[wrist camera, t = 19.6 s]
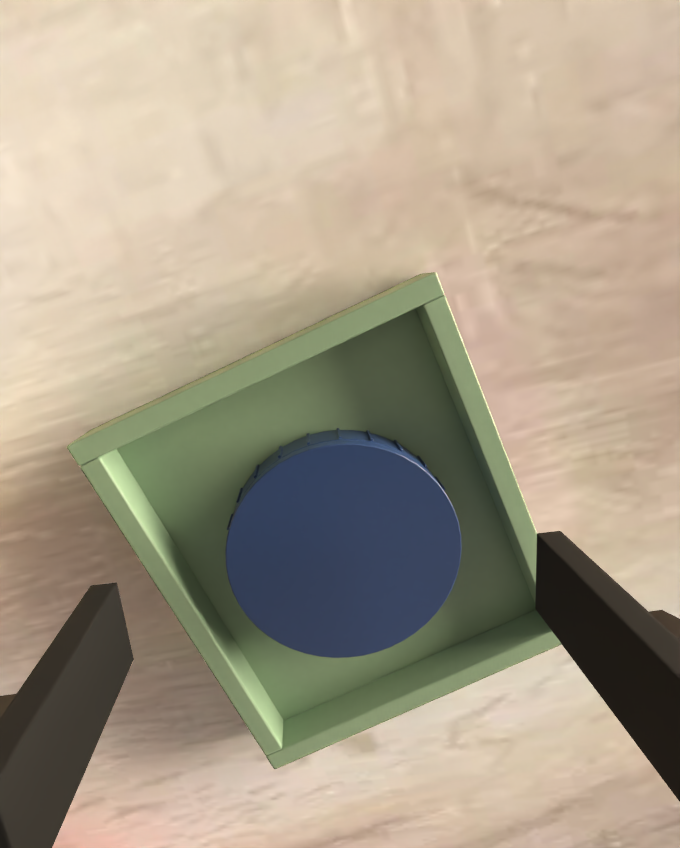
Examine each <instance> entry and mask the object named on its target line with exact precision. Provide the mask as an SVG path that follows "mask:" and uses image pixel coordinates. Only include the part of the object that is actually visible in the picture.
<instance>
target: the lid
mask: <svg viewBox="0 0 680 848" xmlns="http://www.w3.org/2000/svg"><path fill="white" fill-rule="evenodd" d="M306 435H307V436H305V437H302V438H300V439H297V440H294V441H293V442H291V443H289V444H287V445H285V446H283V447H282V446H279V450H277V451H276V452H274V453H273V454H272V455H270V456H269V457H268V458H267V459H266V460H265V461H264V462H263V463H262V464H260V465H259V464H258V465H257V466H256V469H255V471H254V473H253V474H252V475H251V476H250V478H249V479H248V481H247V482H246V484H245V486H244V487H243V488H240V491H239V494H238V497H237V501H236V502H237V503H236V507H235V510H234V513H233V514H231V517H230V520H229V523H228V527H227V530H229V531H228V534H227V541H226V549H225V558H226V569H227V575H228V580H229V583H230V586H231V589H232V592H233V594H234V596H235V598H236V600H237V602H238V604H239V605H240V607H241V608H242V610H243V611H244V613H245V614H246V616H247V617H248V618H249V619H250V620H251V621H252V622H253V623H254V624H255V626H256V627H258V628H259V629H260V630H261V631H262V632H264V633H265V634H266V635H267V636H269V637H270V638H272V639H273V640H275V641H277V642H278V643H280V644H282V645H284V646H286V647H288V648H291V649H293V650H296V651H299V652H302V653H305V654H309V655H314V656H319V657H330V658H349V657H357V656H364V655H368V654H372V653H376V652H379V651H382V650H384V649H387V648H390V647H392V646H394V645H396V644H398V643H400V642H402V641H404V640H405V639H407V638H408V637H410V636H411V635H413V634H414V633H416V632H417V631H418V630H420V629H421V628H422V627H423V626H424V625H425V624H427V623H428V622H429V621H430V619H431V618H432V617H433V616H434V615H435V614H436V613H437V612H438V610H439V609H440V608H441V606H442V605H443V604H444V602H445V601H446V599H447V597H448V595H449V593H450V592H451V590H452V587H453V585H454V582H455V580H456V577H457V573H458V569H459V565H460V559H461V549H462V547H461V532H460V527H459V522H458V519H457V516H456V513H455V510H454V507H453V505H452V503H451V501H450V500H449V498H448V496H447V494H446V493H445V491H444V490H446V489H445V487H444V486H443V485H442V483H441V482H440V481H439V479H438V478H437V477H436V476H435V477H434V476H433V475H432V473H431V472H430V470H429V469H428V468H427V466H426V464H425V463H424V461H423V460H422V459H421V457H420V456H419V455H418V456H416V455H414V454H413V453H412V452H410V451H409V450H408V449H407V448H405V447H403V446H402V445H400V444H399V443H398V441H397V440H394V441H392V440H390V439H388V438H385V437H383V436H380V435H376V434H373V433H370V431H369V430H367V431H366V432H364V431H356V430H340V429H339V428H336V430H332V431H323V432H319V433H315V434H311V435H310V434H309V433H307V434H306Z"/></svg>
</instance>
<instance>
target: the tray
mask: <svg viewBox="0 0 680 848" xmlns="http://www.w3.org/2000/svg"><path fill="white" fill-rule="evenodd" d="M336 428H339V429H340V430H356V431H364V432H366V431H367V430H369V431H370V433H373V434H376V435H380V436H383V437H385V438H388V439H390V440H392V441H394V440H397V441H398V443H399V444H400V445H402V446H403V447H405V448H407V449H408V450H409V451H410V452H412V453H413V454H414V455H416V456H418V455H419V456H420V457H421V459H422V460H423V461H424V463H425V464H426V466H427V468H428V469H429V470H430V472H431V473H432V475H433V476H434V477H435V476H436V477H437V478H438V479H439V481H440V482H441V483H442V485H443V486H444V487H445V489H446V490H444V491H445V493H446V494H447V496H448V498H449V500H450V501H451V503H452V505H453V507H454V510H455V513H456V516H457V519H458V522H459V527H460V532H461V547H462V549H461V559H460V565H459V569H458V573H457V577H456V580H455V582H454V585H453V587H452V590H451V592H450V593H449V595H448V597H447V599H446V601H445V602H444V604H443V605H442V606H441V608H440V609H439V610H438V612H437V613H436V614H435V615H434V616H433V617H432V618H431V619H430V621H429V622H428V623H427V624H425V625H424V626H423V627H422V628H421V629H420V630H418V631H417V632H416V633H414V634H413V635H411V636H410V637H408V638H407V639H405V640H404V641H402V642H400V643H398V644H396V645H394V646H392V647H390V648H387V649H384V650H382V651H379V652H376V653H372V654H368V655H364V656H357V657H349V658H330V657H319V656H314V655H309V654H305V653H302V652H299V651H296V650H293V649H291V648H288V647H286V646H284V645H282V644H280V643H278V642H277V641H275V640H273V639H272V638H270V637H269V636H267V635H266V634H265V633H264V632H262V631H261V630H260V629H259V628H258V627H256V626H255V624H254V623H253V622H252V621H251V620H250V619H249V618H248V617H247V616H246V614H245V613H244V611H243V610H242V608H241V607H240V605H239V604H238V602H237V600H236V598H235V596H234V594H233V592H232V589H231V586H230V583H229V580H228V575H227V569H226V558H225V549H226V541H227V534H228V531H229V530H227V527H228V523H229V520H230V517H231V514H233V513H234V510H235V507H236V503H237V502H236V501H237V497H238V494H239V491H240V488H243V487H244V486H245V484H246V482H247V481H248V479H249V478H250V476H251V475H252V474H253V473H254V471H255V469H256V466H257V465H258V464H259V465H260V464H262V463H263V462H264V461H265V460H266V459H267V458H268V457H269V456H270V455H272V454H273V453H274V452H276V451H277V450H279V446H282V447H283V446H285V445H287V444H289V443H291V442H293V441H294V440H297V439H300V438H302V437H305V436H307V435H306V434H307V433H309V434H310V435H311V434H315V433H319V432H323V431H332V430H336ZM67 448H68V450H69V451H70V453H71V455H72V456H73V458H74V459H75V461H76V462H77V464H78V465H79V466H81V470H82V471H83V473H84V474H85V476H86V477H87V479H88V480H89V482H90V484H91V485H92V487H93V488H94V490H95V491H96V493H97V494H98V496H99V498H100V499H101V501H102V502H103V504H104V505H105V507H106V508H107V510H108V512H109V513H110V515H111V516H112V518H113V519H114V521H115V522H116V524H117V526H118V527H119V529H120V530H121V532H122V533H123V535H124V536H125V538H126V539H127V541H128V543H129V544H130V546H131V547H132V549H133V550H134V552H135V553H136V555H137V557H138V558H139V560H140V561H141V563H142V564H143V566H144V567H145V569H146V571H147V572H148V574H149V575H150V577H151V578H152V580H153V581H154V583H155V585H156V586H157V588H158V589H159V591H160V592H161V594H162V595H163V597H164V598H165V600H166V602H167V603H168V605H169V606H170V608H171V609H172V611H173V612H174V614H175V616H176V617H177V619H178V620H179V622H180V623H181V625H182V626H183V628H184V630H185V631H186V633H187V634H188V636H189V637H190V639H191V640H192V642H193V643H194V645H195V647H196V648H197V650H198V651H199V653H200V654H201V656H202V657H203V659H204V661H205V662H206V664H207V665H208V667H209V668H210V670H211V671H212V673H213V675H214V676H215V678H216V679H217V681H218V682H219V684H220V685H221V687H222V689H223V690H224V692H225V693H226V695H227V696H228V698H229V699H230V701H231V702H232V704H233V706H234V707H235V709H236V710H237V712H238V713H239V715H240V716H241V718H242V720H243V721H244V723H245V724H246V726H247V727H248V729H249V730H250V732H251V734H252V735H253V737H254V738H255V740H256V741H257V743H258V744H259V746H260V747H261V749H262V751H263V752H264V754H265V755H266V757H267V759H268V760H269V762H270V763H271V765H272V766H273V768H274V769H277V768H279V767H281V766H284V765H286V764H288V763H291V762H293V761H295V760H297V759H300V758H302V757H304V756H307V755H309V754H311V753H313V752H316V751H318V750H320V749H323V748H325V747H327V746H330V745H332V744H334V743H336V742H339V741H341V740H343V739H346V738H348V737H350V736H352V735H355V734H357V733H359V732H362V731H364V730H366V729H368V728H371V727H373V726H375V725H378V724H380V723H382V722H385V721H387V720H389V719H391V718H394V717H396V716H398V715H401V714H403V713H405V712H407V711H410V710H412V709H414V708H417V707H419V706H421V705H424V704H426V703H428V702H430V701H433V700H435V699H437V698H440V697H442V696H444V695H446V694H449V693H451V692H453V691H456V690H458V689H460V688H463V687H465V686H467V685H469V684H472V683H474V682H476V681H479V680H481V679H483V678H485V677H488V676H490V675H492V674H495V673H497V672H499V671H502V670H504V669H506V668H508V667H511V666H513V665H515V664H518V663H520V662H522V661H524V660H527V659H529V658H531V657H534V656H536V655H538V654H541V653H543V652H545V651H547V650H550V649H552V648H554V647H557V646H559V645H561V642H560V641H559V640H558V638H557V637H556V636H555V634H554V633H553V632H552V630H551V629H550V628H549V626H548V625H547V624H546V622H545V621H544V620H543V618H542V617H541V616H540V614H539V613H538V612H537V610H536V609H535V597H536V554H537V532H536V529H535V527H534V524H533V522H532V519H531V516H530V514H529V511H528V509H527V506H526V504H525V501H524V498H523V496H522V493H521V491H520V488H519V485H518V483H517V480H516V478H515V475H514V472H513V470H512V467H511V465H510V462H509V460H508V457H507V454H506V452H505V449H504V447H503V444H502V441H501V439H500V436H499V434H498V431H497V428H496V426H495V423H494V421H493V418H492V415H491V413H490V410H489V408H488V405H487V403H486V400H485V397H484V395H483V392H482V390H481V387H480V384H479V382H478V379H477V377H476V374H475V371H474V369H473V366H472V364H471V361H470V358H469V356H468V353H467V351H466V348H465V346H464V343H463V340H462V338H461V335H460V333H459V330H458V327H457V325H456V322H455V320H454V317H453V314H452V312H451V309H450V307H449V304H448V302H447V299H446V296H445V295H444V291H443V289H442V286H441V283H440V281H439V278H438V276H437V273H436V272H433V273H425V274H420V275H417V276H415V277H413V278H411V279H409V280H407V281H405V282H403V283H401V284H398V285H396V286H394V287H392V288H390V289H388V290H386V291H384V292H382V293H379V294H377V295H375V296H373V297H371V298H369V299H367V300H365V301H362V302H360V303H358V304H356V305H354V306H352V307H350V308H348V309H346V310H343V311H341V312H339V313H337V314H335V315H333V316H331V317H329V318H327V319H324V320H322V321H320V322H318V323H316V324H314V325H312V326H310V327H307V328H305V329H303V330H301V331H299V332H297V333H295V334H293V335H291V336H288V337H286V338H284V339H282V340H280V341H278V342H276V343H274V344H272V345H269V346H267V347H265V348H263V349H261V350H259V351H257V352H255V353H253V354H250V355H248V356H246V357H244V358H242V359H240V360H238V361H236V362H233V363H231V364H229V365H227V366H225V367H223V368H221V369H219V370H217V371H214V372H212V373H210V374H208V375H206V376H204V377H202V378H200V379H198V380H195V381H193V382H191V383H189V384H187V385H185V386H183V387H181V388H178V389H176V390H174V391H172V392H170V393H168V394H166V395H164V396H162V397H159V398H157V399H155V400H153V401H151V402H149V403H147V404H145V405H143V406H140V407H138V408H136V409H134V410H132V411H130V412H128V413H126V414H124V415H121V416H119V417H117V418H115V419H113V420H111V421H109V422H107V423H104V424H102V425H100V426H98V427H96V428H94V429H92V430H90V431H89V432H87V433H86V434H84V435H83V436H81V437H80V438H78V439H77V440H75V441H74V442H72V443H71V444H69V445H68V446H67Z"/></svg>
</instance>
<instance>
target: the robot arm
mask: <svg viewBox="0 0 680 848" xmlns="http://www.w3.org/2000/svg"><path fill="white" fill-rule="evenodd" d="M535 609H536V610H537V612H538V613H539V614H540V616H541V617H542V618H543V620H544V621H545V622H546V624H547V625H548V626H549V628H550V629H551V630H552V632H553V633H554V634H555V636H556V637H557V638H558V640H559V641H560V642H561V644H562V645H563V646H564V648H565V649H566V650H567V652H568V653H569V654H570V656H571V657H572V658H573V660H574V661H575V662H576V664H577V665H578V666H579V668H580V669H581V670H582V672H583V673H584V674H585V676H586V677H587V678H588V680H589V681H590V682H591V684H592V685H593V686H594V688H595V689H596V690H597V692H598V693H599V694H600V696H601V697H602V698H603V700H604V701H605V702H606V704H607V705H608V706H609V708H610V709H611V710H612V712H613V713H614V714H615V716H616V717H617V718H618V720H619V721H620V722H621V724H622V725H623V726H624V728H625V729H626V730H627V732H628V733H629V734H630V736H631V737H632V738H633V740H634V741H635V743H636V744H637V745H638V747H639V748H640V749H641V751H642V752H643V753H644V755H645V756H646V757H647V759H648V760H649V761H650V763H651V764H652V765H653V767H654V768H655V769H656V771H657V772H658V773H659V775H660V776H661V777H662V779H663V780H664V781H665V783H666V784H667V785H668V787H669V788H670V789H671V791H672V792H673V793H674V795H675V796H676V797H677V799H678V800H679V801H680V619H679V618H677V617H675V616H673V615H671V614H669V613H667V612H665V611H663V610H659V611H651V612H648V611H647V610H646V609H645V608H644V607H643V606H642V605H640V604H639V603H638V602H637V601H636V600H635V599H634V598H633V597H632V596H631V595H630V594H628V593H627V592H626V591H625V590H624V589H623V588H622V587H621V586H620V585H619V584H618V583H616V582H615V581H614V580H613V579H612V578H611V577H610V576H609V575H608V574H607V573H606V572H604V571H603V570H602V569H601V568H600V567H599V566H598V565H597V564H596V563H595V562H594V561H592V560H591V559H590V558H589V557H588V556H587V555H586V554H585V553H584V552H583V551H582V550H580V549H579V548H578V547H577V546H576V545H575V544H574V543H573V542H572V541H571V540H570V539H568V538H567V537H566V536H565V535H564V534H563V533H562V532H561V531H556V532H547V533H538V534H537V554H536V597H535ZM133 660H134V658H133V654H132V649H131V645H130V640H129V636H128V631H127V627H126V622H125V618H124V613H123V608H122V604H121V599H120V595H119V590H118V586H117V583H109V584H100V585H92V586H90V588H89V589H88V591H87V592H86V593H85V595H84V596H83V598H82V599H81V601H80V602H79V604H78V605H77V607H76V608H75V610H74V611H73V612H72V614H71V615H70V617H69V618H68V620H67V621H66V623H65V624H64V626H63V627H62V629H61V630H60V631H59V633H58V634H57V636H56V637H55V639H54V640H53V642H52V643H51V645H50V646H49V648H48V649H47V650H46V652H45V653H44V655H43V656H42V658H41V659H40V661H39V662H38V664H37V665H36V666H35V668H34V669H33V671H32V672H31V674H30V675H29V677H28V678H27V680H26V681H25V683H24V684H23V685H22V687H21V688H20V690H19V691H18V693H17V694H13V695H5V696H0V848H52V846H53V844H54V842H55V839H56V837H57V835H58V833H59V830H60V828H61V826H62V823H63V821H64V819H65V816H66V814H67V812H68V809H69V807H70V805H71V803H72V800H73V798H74V796H75V793H76V791H77V789H78V786H79V784H80V782H81V780H82V777H83V775H84V773H85V770H86V768H87V766H88V763H89V761H90V759H91V756H92V754H93V752H94V750H95V747H96V745H97V743H98V740H99V738H100V736H101V733H102V731H103V729H104V726H105V724H106V722H107V720H108V717H109V715H110V713H111V710H112V708H113V706H114V703H115V701H116V699H117V697H118V694H119V692H120V690H121V687H122V685H123V683H124V680H125V678H126V676H127V673H128V671H129V669H130V667H131V664H132V662H133Z"/></svg>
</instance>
